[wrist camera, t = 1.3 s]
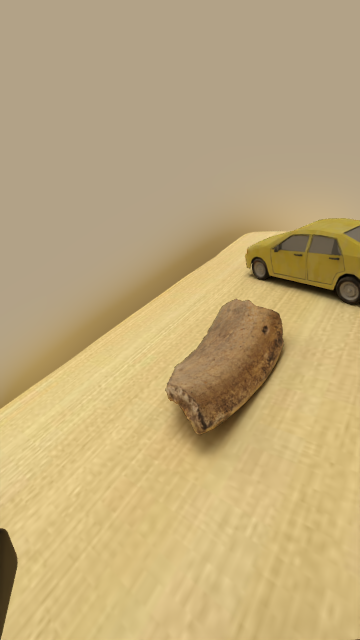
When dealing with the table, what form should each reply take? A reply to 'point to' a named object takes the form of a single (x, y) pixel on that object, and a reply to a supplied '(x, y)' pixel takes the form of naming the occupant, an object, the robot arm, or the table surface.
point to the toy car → (313, 256)
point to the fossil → (227, 364)
